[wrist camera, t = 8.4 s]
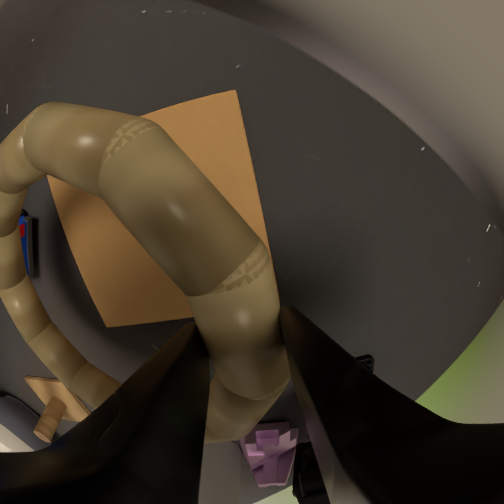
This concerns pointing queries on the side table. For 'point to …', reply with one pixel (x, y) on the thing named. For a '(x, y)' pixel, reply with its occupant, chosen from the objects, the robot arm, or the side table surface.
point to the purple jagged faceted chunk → (270, 452)
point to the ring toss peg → (55, 405)
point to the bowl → (18, 427)
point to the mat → (126, 246)
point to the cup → (220, 474)
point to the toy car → (27, 242)
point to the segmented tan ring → (157, 246)
